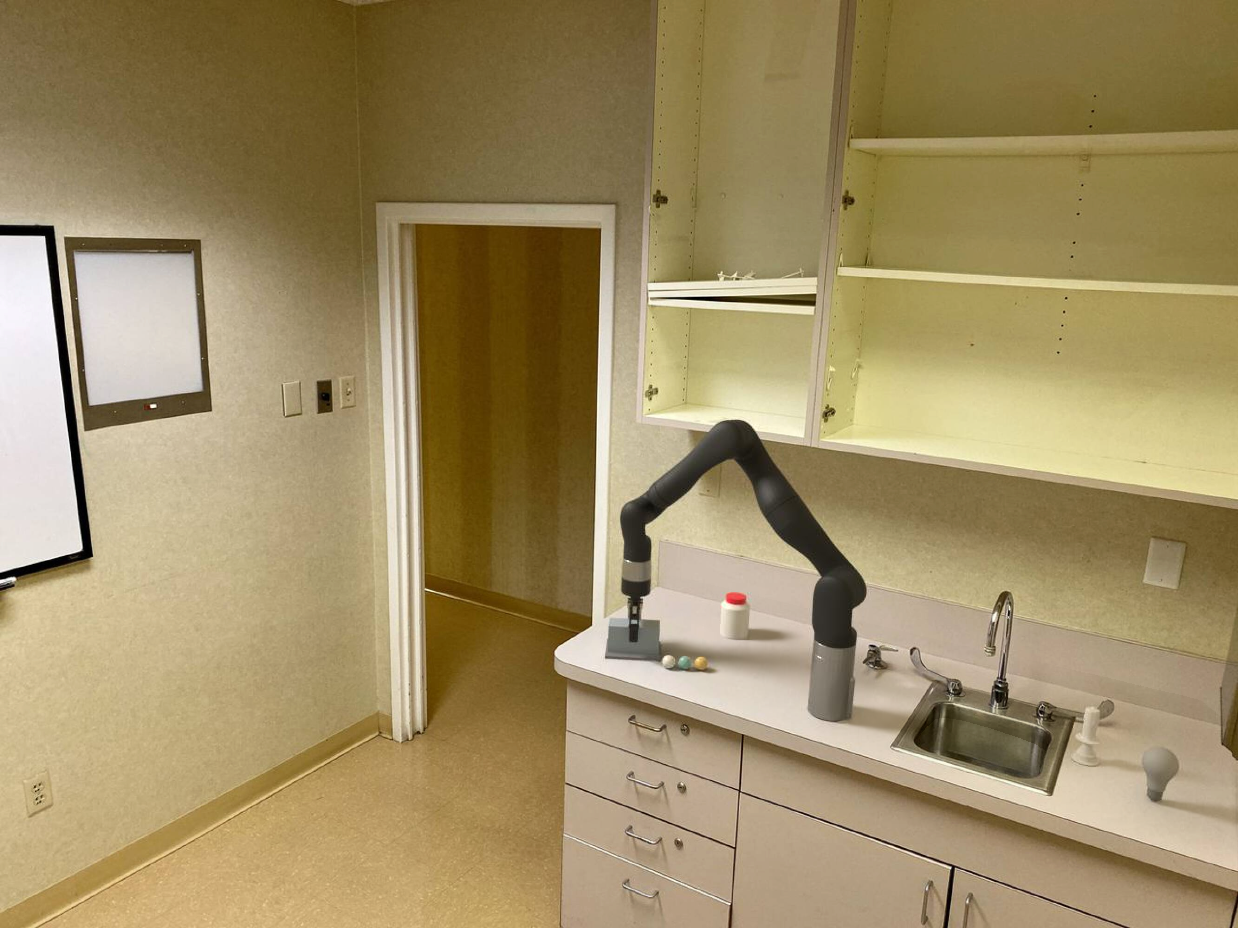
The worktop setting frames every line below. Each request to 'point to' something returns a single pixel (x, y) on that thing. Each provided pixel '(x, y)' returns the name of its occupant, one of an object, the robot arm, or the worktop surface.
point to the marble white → (668, 661)
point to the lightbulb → (1159, 770)
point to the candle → (1088, 738)
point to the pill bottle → (734, 616)
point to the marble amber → (701, 663)
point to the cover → (646, 636)
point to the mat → (632, 655)
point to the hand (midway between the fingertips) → (633, 635)
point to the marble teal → (684, 662)
